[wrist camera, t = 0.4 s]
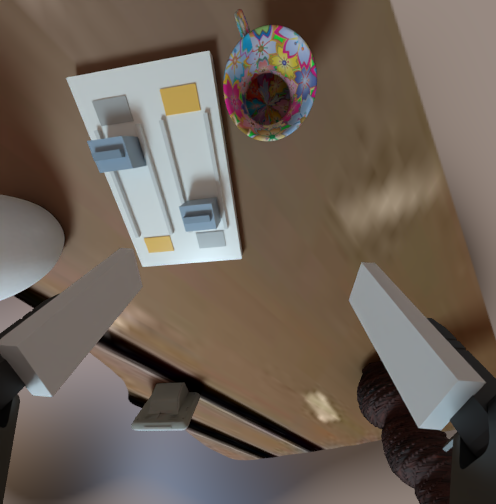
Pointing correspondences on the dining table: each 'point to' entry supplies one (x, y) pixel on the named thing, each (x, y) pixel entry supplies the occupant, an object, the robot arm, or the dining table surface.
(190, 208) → the tab
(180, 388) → the digital clock
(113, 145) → the tab
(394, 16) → the dining table surface
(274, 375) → the dining table surface
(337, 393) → the dining table surface
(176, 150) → the switch board
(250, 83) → the mug
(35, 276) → the pitcher
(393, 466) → the vase
